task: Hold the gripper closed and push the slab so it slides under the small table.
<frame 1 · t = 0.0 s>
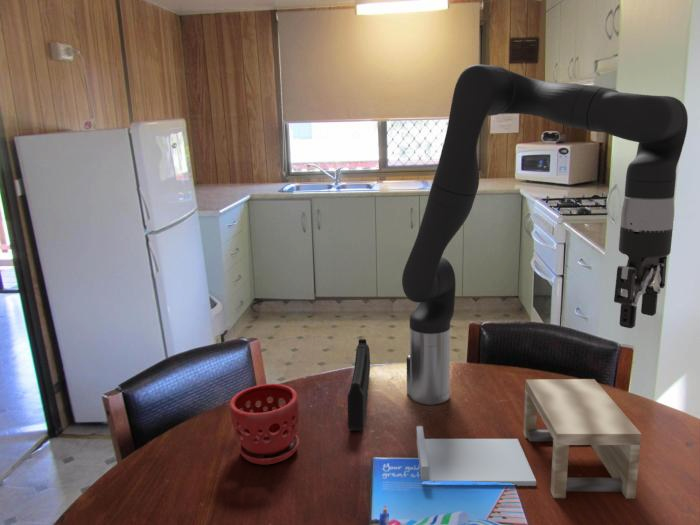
hand: (637, 320, 95), 29 cm above the table, tool pointing down, fingers open, 8 cm apart
magazine: (360, 402, 134), on the table
slab: (472, 464, 108), on the table
small table: (537, 462, 107), on the table
plant pot: (267, 453, 113), on the table
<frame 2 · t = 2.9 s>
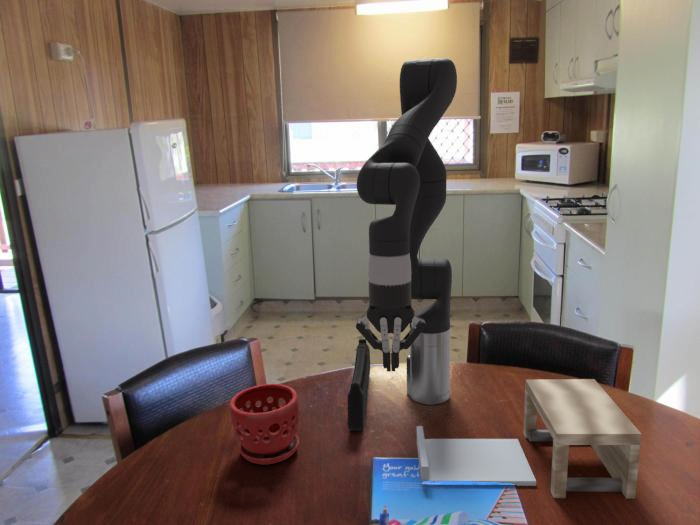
hand: (391, 369, 104), 19 cm above the table, tool pointing down, fingers closed
nothing on the table moved.
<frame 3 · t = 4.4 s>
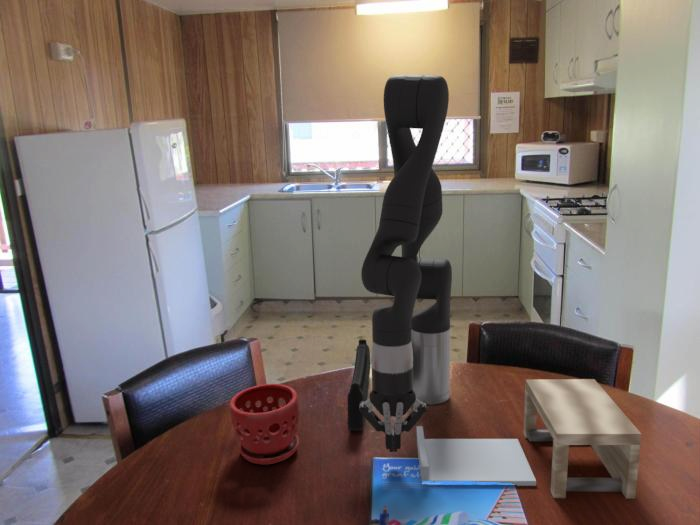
hand: (393, 449, 107), 3 cm above the table, tool pointing down, fingers closed
nothing on the table moved.
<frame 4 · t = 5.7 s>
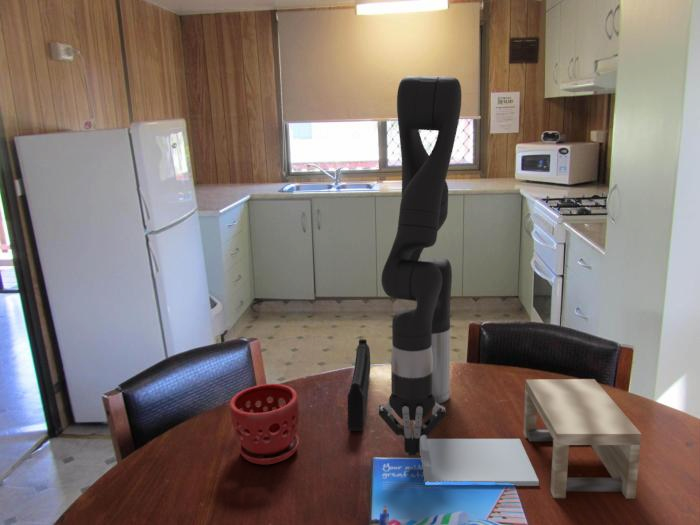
hand: (412, 453, 108), 2 cm above the table, tool pointing down, fingers closed
nothing on the table moved.
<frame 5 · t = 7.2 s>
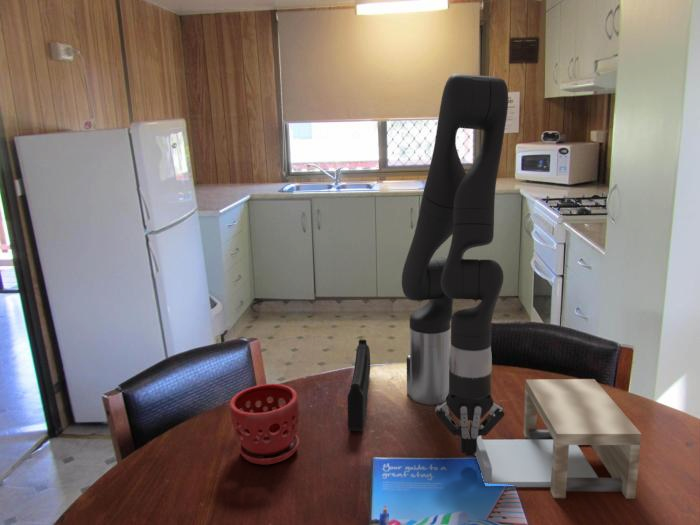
hand: (468, 453, 107), 2 cm above the table, tool pointing down, fingers closed
slab: (531, 465, 107), on the table, touching gripper
everything else where it was.
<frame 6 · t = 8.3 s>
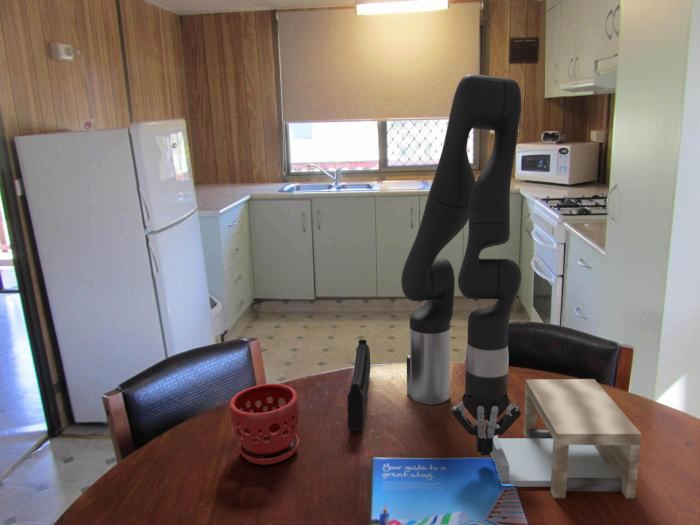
hand: (484, 453, 107), 2 cm above the table, tool pointing down, fingers closed
slab: (547, 463, 107), on the table, touching gripper, small table
everything else where it was.
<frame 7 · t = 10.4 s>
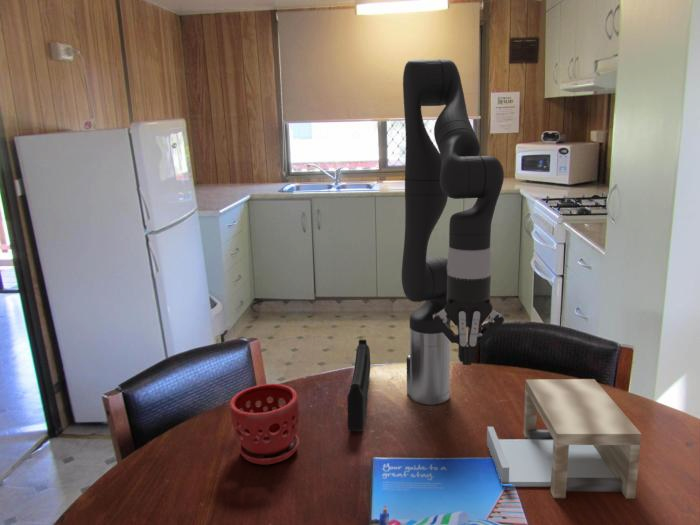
hand: (466, 363, 104), 20 cm above the table, tool pointing down, fingers closed
slab: (547, 464, 107), on the table
everything else where it was.
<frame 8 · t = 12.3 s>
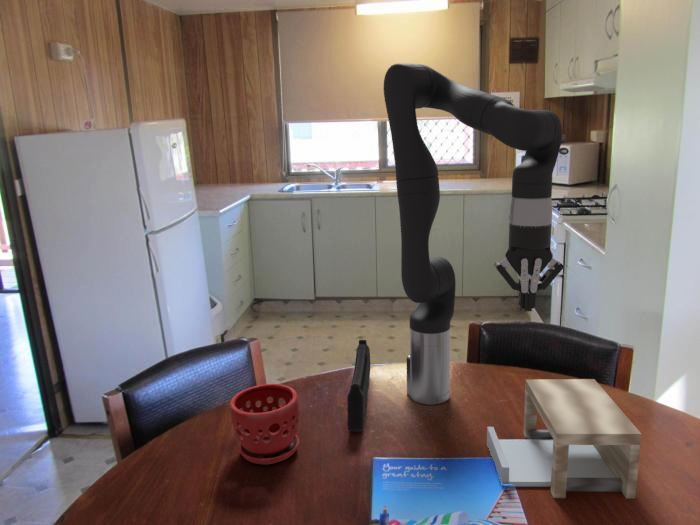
hand: (526, 310, 110), 27 cm above the table, tool pointing down, fingers closed
nothing on the table moved.
at the end: slab 0.3 cm from the target spot on the small table, point 0.0 cm above the small table's base; slab tilted 0° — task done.
